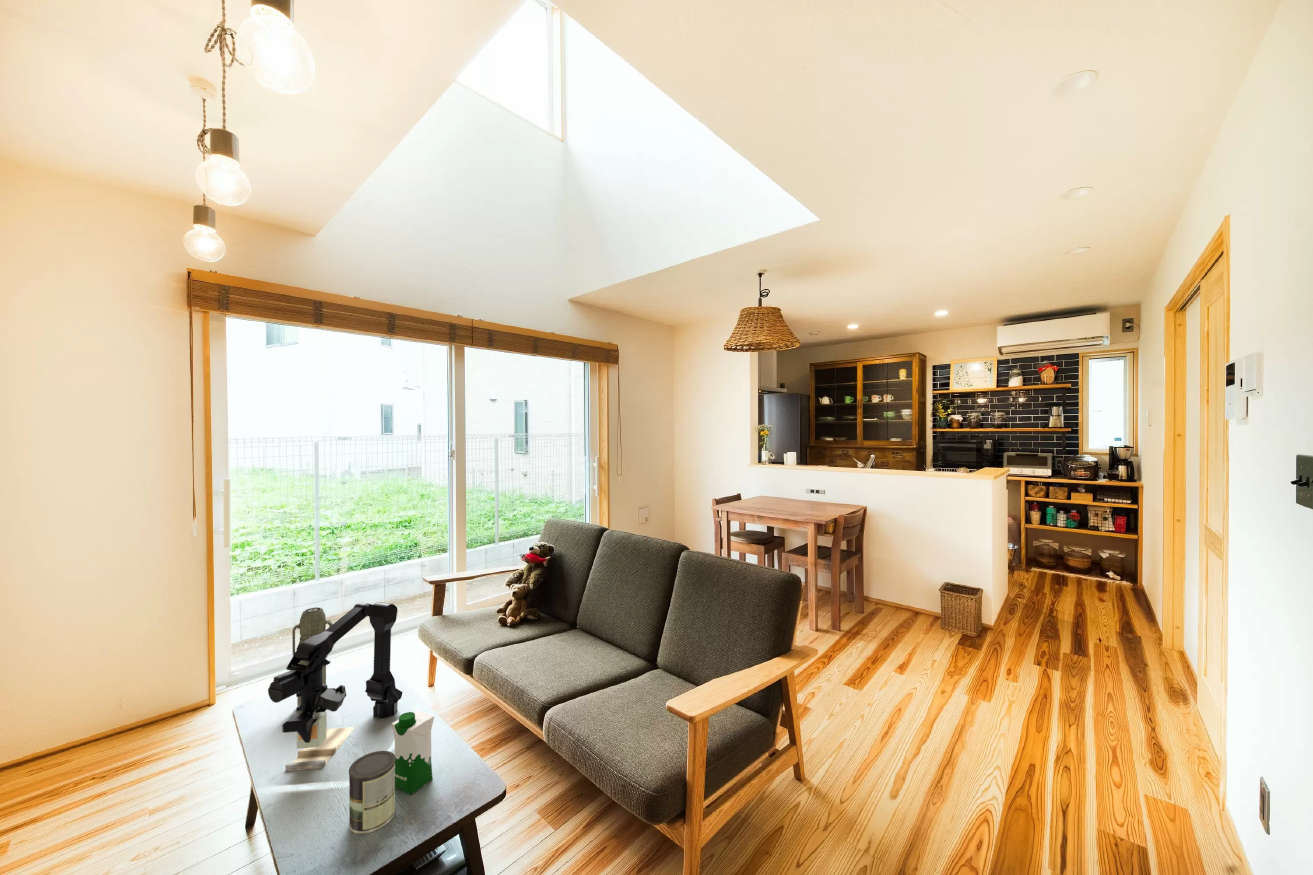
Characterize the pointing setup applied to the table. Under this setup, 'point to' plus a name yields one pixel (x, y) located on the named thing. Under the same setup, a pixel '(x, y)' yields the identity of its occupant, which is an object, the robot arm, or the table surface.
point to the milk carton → (412, 751)
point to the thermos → (310, 631)
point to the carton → (315, 732)
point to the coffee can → (371, 792)
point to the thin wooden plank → (320, 751)
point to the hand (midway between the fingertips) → (311, 737)
